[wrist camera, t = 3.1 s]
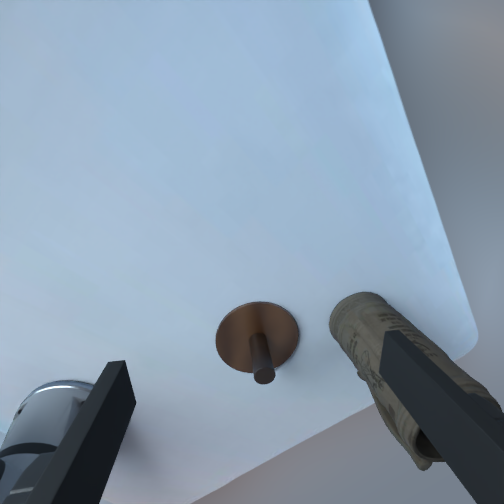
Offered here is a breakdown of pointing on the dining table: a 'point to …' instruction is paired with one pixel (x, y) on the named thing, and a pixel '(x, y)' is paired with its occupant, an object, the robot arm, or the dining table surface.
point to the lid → (257, 339)
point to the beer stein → (368, 361)
